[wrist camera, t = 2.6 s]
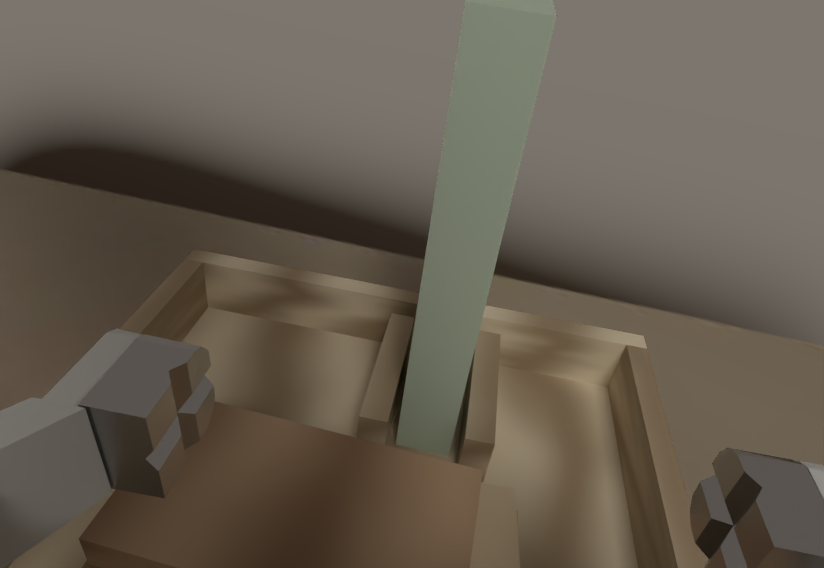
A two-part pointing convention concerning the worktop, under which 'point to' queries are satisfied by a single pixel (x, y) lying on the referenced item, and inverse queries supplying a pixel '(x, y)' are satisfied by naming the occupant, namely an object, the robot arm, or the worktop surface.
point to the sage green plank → (471, 205)
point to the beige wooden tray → (479, 413)
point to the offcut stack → (306, 506)
